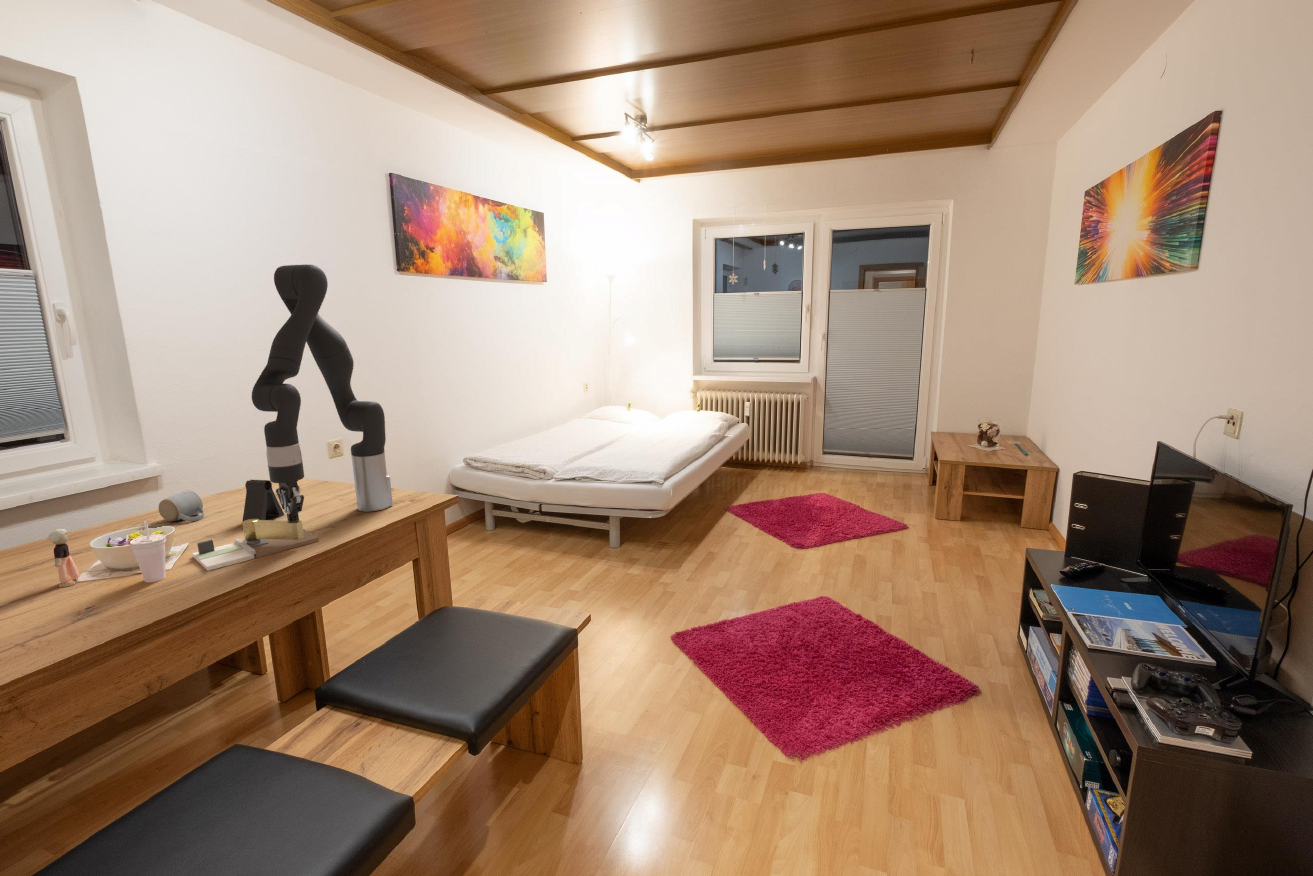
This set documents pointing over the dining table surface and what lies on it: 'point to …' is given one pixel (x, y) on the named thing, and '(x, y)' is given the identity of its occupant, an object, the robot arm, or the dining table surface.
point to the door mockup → (244, 550)
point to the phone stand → (261, 501)
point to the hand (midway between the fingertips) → (294, 526)
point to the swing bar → (272, 529)
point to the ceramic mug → (182, 507)
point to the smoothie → (150, 555)
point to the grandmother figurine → (63, 558)
